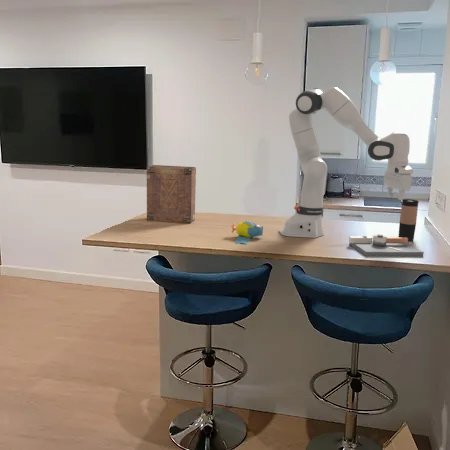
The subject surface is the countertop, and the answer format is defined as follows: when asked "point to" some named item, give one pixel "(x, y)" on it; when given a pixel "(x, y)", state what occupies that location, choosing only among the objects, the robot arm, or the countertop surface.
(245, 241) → the yellow and blue toy
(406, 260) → the countertop surface
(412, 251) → the stand
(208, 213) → the countertop surface
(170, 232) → the countertop surface
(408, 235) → the travel mug
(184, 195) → the book
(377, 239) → the multicoloured piece
